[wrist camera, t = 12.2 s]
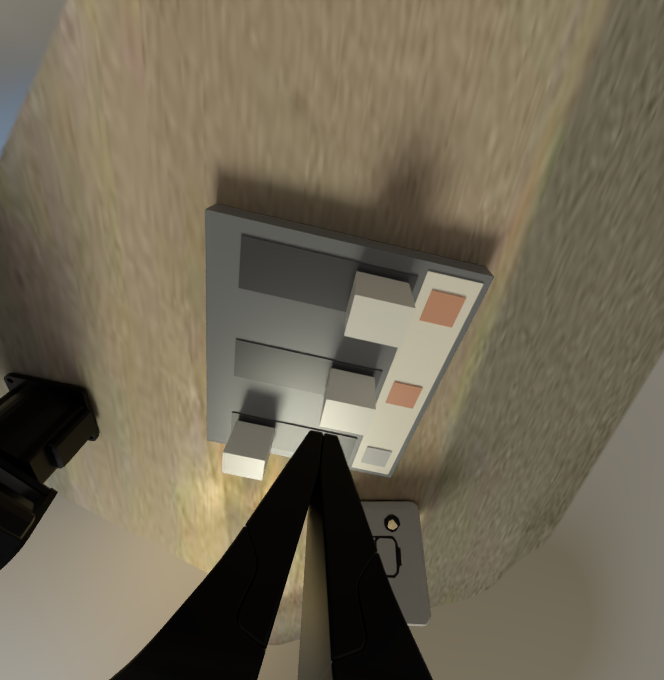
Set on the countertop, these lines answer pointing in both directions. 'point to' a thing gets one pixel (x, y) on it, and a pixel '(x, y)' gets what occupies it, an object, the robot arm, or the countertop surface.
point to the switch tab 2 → (348, 402)
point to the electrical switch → (402, 555)
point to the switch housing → (322, 331)
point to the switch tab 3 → (379, 310)
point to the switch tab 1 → (248, 450)
